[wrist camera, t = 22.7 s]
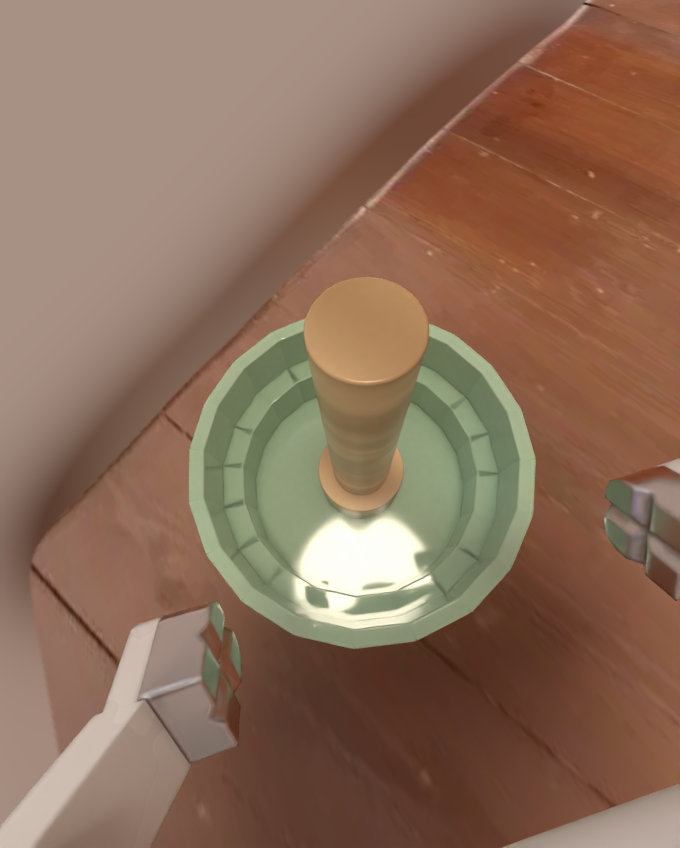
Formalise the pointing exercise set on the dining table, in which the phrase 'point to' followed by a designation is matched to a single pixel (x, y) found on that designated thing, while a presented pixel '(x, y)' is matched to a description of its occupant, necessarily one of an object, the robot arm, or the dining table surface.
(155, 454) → the dining table surface
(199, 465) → the mixing bowl
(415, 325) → the muddler
